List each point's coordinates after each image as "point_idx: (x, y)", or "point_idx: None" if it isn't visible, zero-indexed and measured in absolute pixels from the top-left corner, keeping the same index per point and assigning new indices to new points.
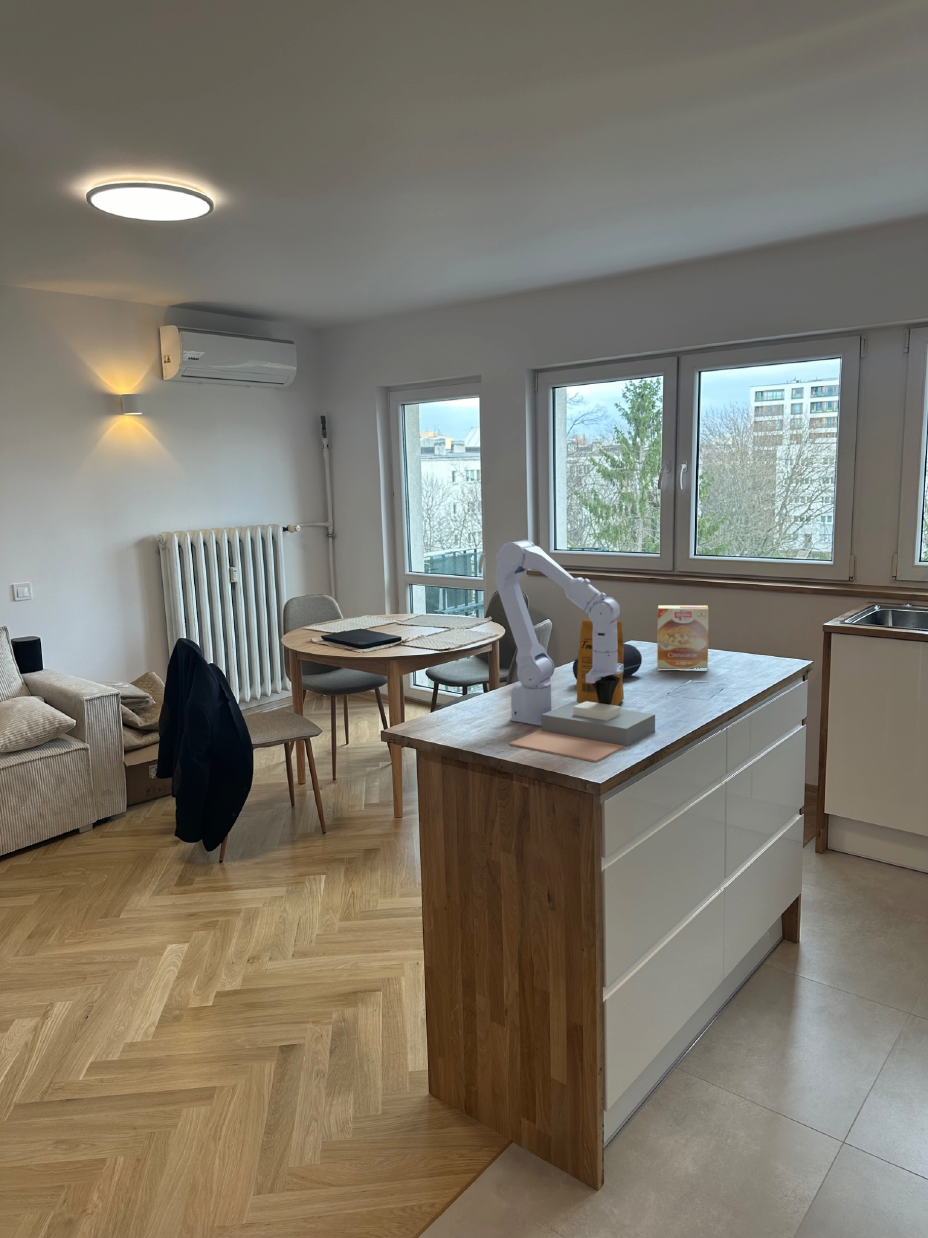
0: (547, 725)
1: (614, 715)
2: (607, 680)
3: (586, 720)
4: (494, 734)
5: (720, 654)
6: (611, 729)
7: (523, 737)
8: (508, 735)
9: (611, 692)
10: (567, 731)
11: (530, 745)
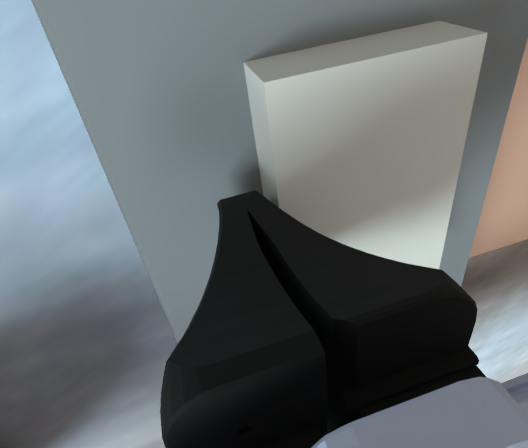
0: None
1: (345, 45)
2: (401, 364)
3: (478, 130)
4: (492, 311)
5: None
6: None
7: (520, 239)
8: (489, 287)
9: (266, 260)
10: None
11: None
